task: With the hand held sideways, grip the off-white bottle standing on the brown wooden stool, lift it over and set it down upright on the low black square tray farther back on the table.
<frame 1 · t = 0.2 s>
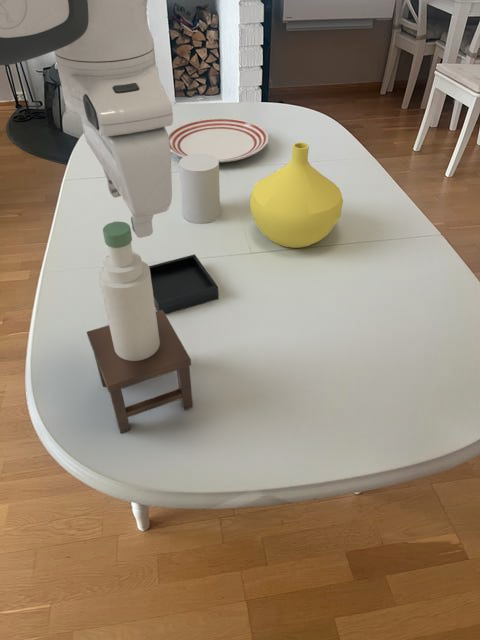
hand: (129, 212, 58), 29 cm above the table, tool pointing down, fingers open, 8 cm apart
black square tray: (178, 289, 94), on the table
dinner plate: (217, 149, 140), on the table
bottle: (137, 344, 69), point 10 cm above the table, touching brown wooden stool
vase: (293, 235, 108), on the table
white cylinder: (201, 214, 114), on the table
brown wooden stool: (145, 393, 76), on the table
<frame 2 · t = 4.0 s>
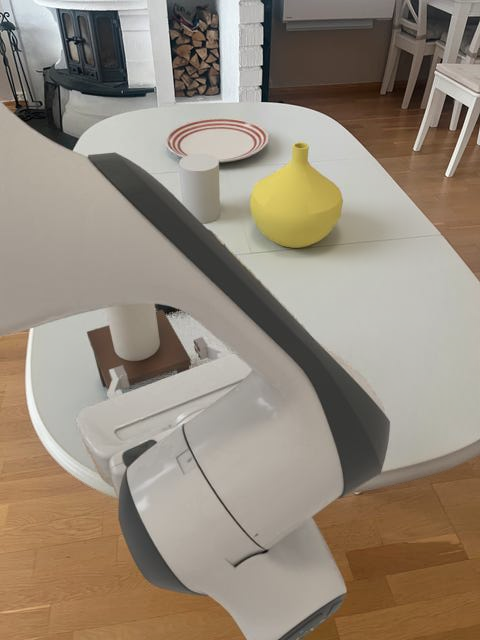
hand: (159, 356, 56), 19 cm above the table, tool horizontal, fingers open, 8 cm apart
nothing on the table moved.
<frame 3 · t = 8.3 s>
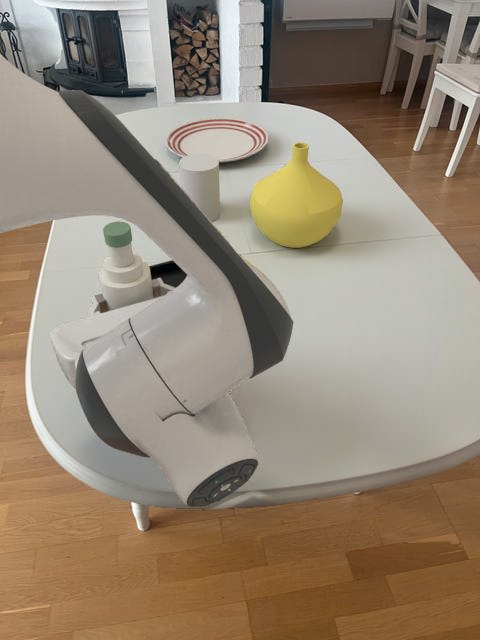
hand: (126, 291, 64), 19 cm above the table, tool horizontal, fingers closed on bottle, 6 cm apart
bottle: (137, 344, 69), point 10 cm above the table, touching gripper, brown wooden stool
everything else where it was.
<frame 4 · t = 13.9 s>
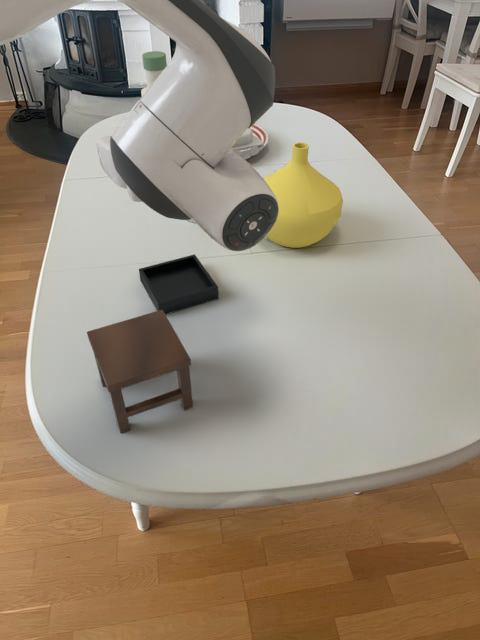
hand: (159, 125, 73), 30 cm above the table, tool horizontal, fingers closed on bottle, 6 cm apart
bottle: (167, 183, 78), point 22 cm above the table, touching gripper
everything else where it was.
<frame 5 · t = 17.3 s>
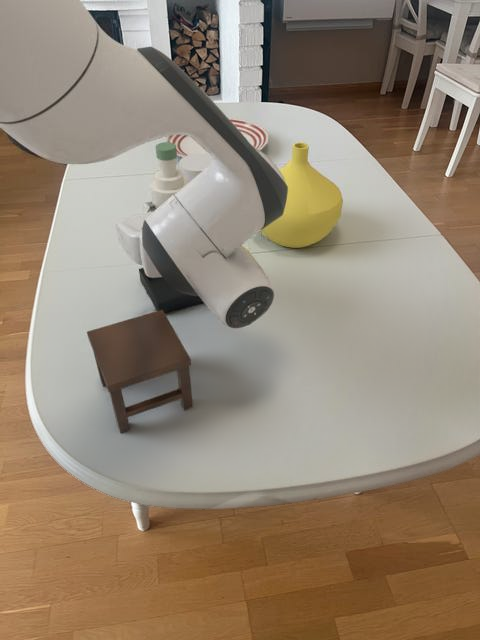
hand: (169, 201, 83), 17 cm above the table, tool horizontal, fingers closed on bottle, 6 cm apart
bottle: (175, 248, 88), point 9 cm above the table, touching gripper
everything else where it was.
when the fingers open (10 cm above the table, at t = 20.0 s): bottle stays where it is, resting on black square tray.
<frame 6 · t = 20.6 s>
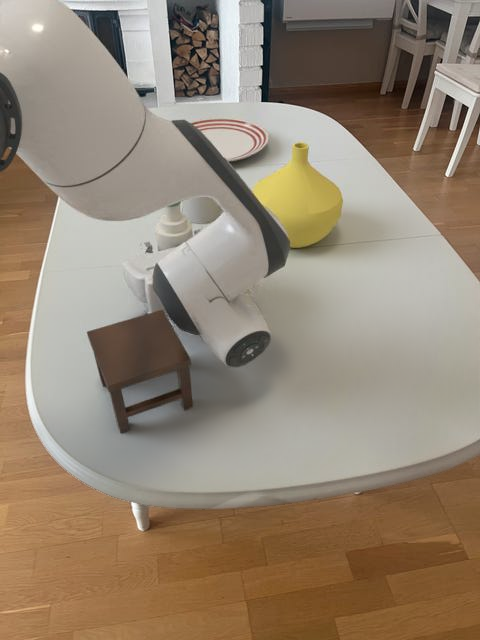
hand: (171, 239, 88), 10 cm above the table, tool horizontal, fingers open, 8 cm apart
bottle: (179, 284, 93), point 1 cm above the table, touching black square tray
everything else where it was.
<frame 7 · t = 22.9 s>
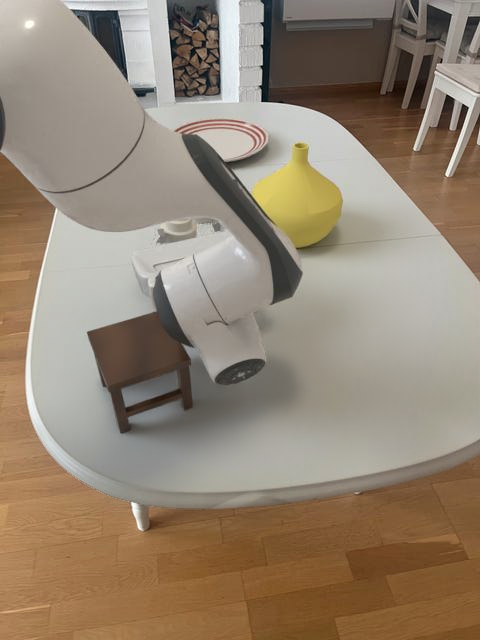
hand: (187, 225, 84), 14 cm above the table, tool horizontal, fingers open, 8 cm apart
bottle: (179, 283, 93), point 1 cm above the table, touching black square tray, gripper
everything else where it was.
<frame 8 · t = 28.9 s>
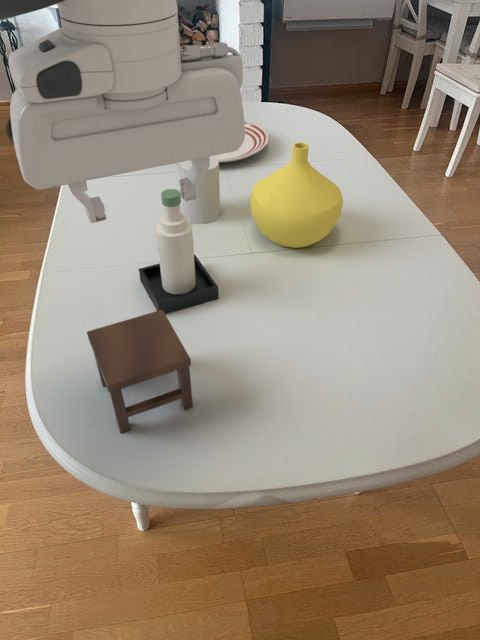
hand: (145, 208, 51), 33 cm above the table, tool pointing down, fingers open, 8 cm apart
bottle: (179, 284, 93), point 1 cm above the table, touching black square tray
everything else where it was.
at the end: bottle inside the target area on the black square tray (0.1 cm from its centre), point 1.2 cm above the black square tray's base; bottle tilted 0°; the gripper is holding nothing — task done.
